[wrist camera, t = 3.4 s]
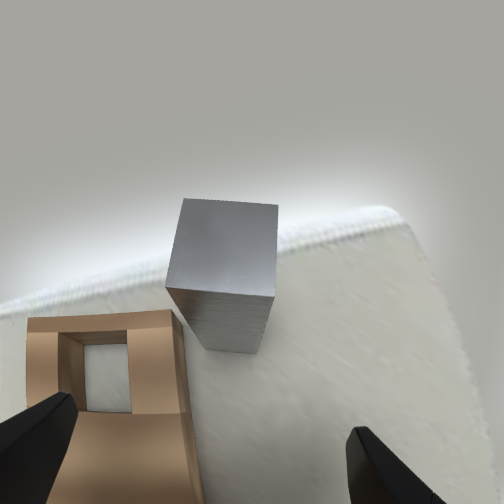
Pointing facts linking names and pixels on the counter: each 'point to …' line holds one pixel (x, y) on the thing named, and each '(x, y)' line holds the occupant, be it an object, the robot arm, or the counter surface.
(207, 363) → the counter surface
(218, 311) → the square bit
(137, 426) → the socket block
